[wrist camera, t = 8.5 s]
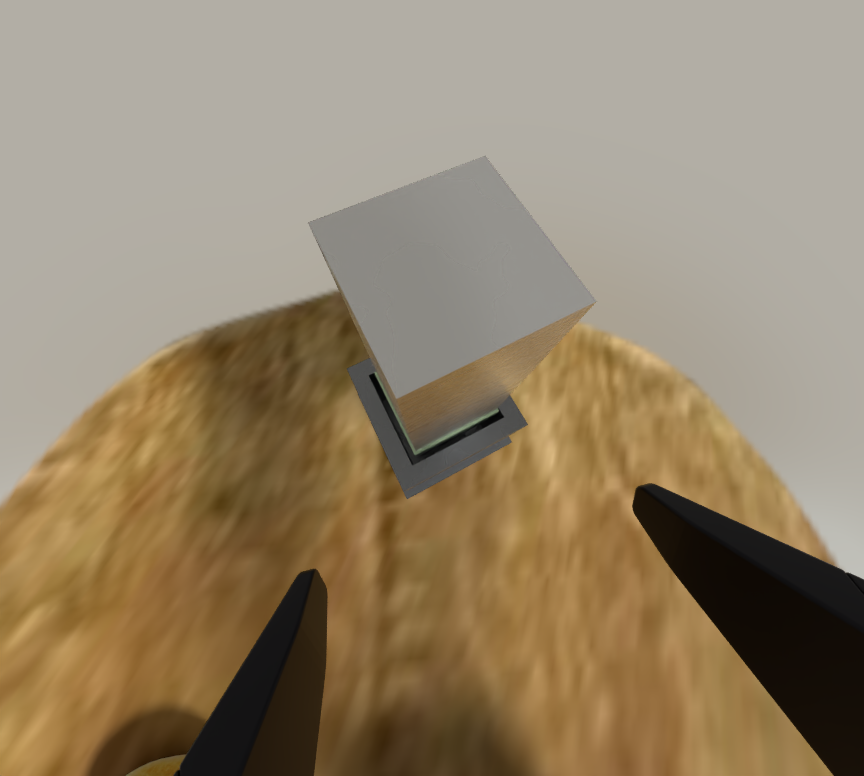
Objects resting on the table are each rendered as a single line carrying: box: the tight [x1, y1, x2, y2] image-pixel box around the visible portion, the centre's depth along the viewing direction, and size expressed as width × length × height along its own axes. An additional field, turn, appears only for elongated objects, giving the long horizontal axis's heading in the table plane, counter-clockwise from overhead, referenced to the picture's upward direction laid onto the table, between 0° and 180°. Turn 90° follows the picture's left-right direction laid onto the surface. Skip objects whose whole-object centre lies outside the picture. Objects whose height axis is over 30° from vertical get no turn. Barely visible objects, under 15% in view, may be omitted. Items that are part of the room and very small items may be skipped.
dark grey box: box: [347, 358, 528, 499], centre depth 18 cm, size 7×7×7 cm
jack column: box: [309, 156, 596, 457], centre depth 11 cm, size 4×4×11 cm
